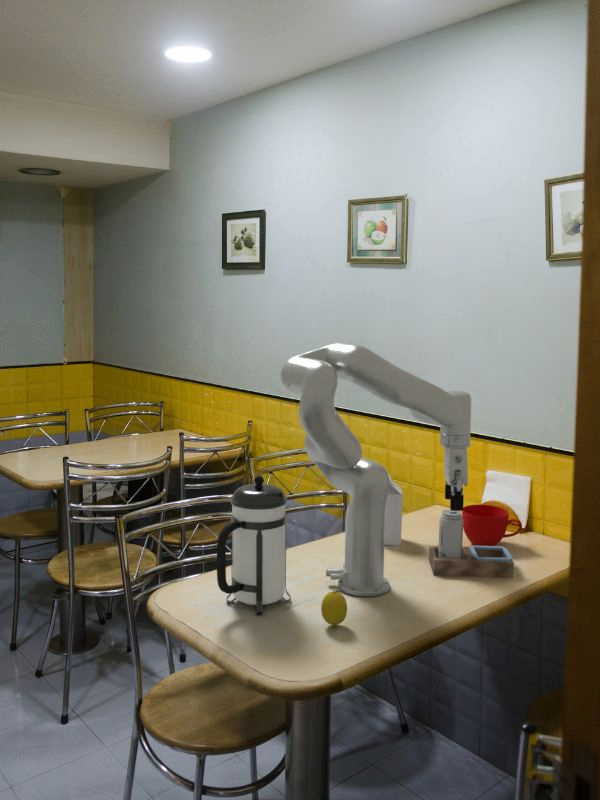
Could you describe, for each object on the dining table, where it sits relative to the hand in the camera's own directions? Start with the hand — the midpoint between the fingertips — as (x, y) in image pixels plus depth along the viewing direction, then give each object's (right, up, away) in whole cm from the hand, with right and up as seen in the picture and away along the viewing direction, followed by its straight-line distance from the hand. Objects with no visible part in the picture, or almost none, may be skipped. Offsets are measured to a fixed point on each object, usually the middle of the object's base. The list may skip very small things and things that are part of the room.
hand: (453, 504), depth 191 cm
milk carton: (-14, -14, +22) cm, 30 cm away
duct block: (+4, -17, +2) cm, 18 cm away
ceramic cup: (+15, -15, +20) cm, 29 cm away
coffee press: (-50, -20, -21) cm, 58 cm away
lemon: (-33, -22, -32) cm, 51 cm away
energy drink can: (-1, -17, +2) cm, 17 cm away
